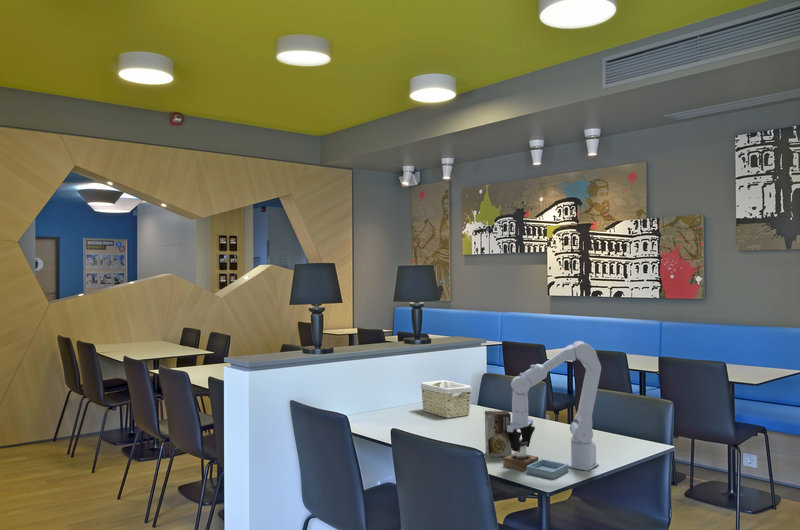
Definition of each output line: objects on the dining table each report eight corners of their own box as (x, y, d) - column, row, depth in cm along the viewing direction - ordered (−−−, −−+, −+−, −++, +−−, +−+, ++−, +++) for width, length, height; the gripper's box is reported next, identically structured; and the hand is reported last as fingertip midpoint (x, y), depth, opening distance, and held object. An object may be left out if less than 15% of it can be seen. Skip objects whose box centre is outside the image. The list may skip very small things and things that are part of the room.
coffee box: (508, 452, 241) (507, 410, 242) (511, 456, 235) (511, 413, 235) (484, 452, 241) (484, 410, 241) (487, 457, 234) (487, 414, 235)
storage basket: (419, 410, 318) (419, 381, 319) (445, 407, 326) (445, 379, 327) (446, 419, 298) (445, 388, 298) (473, 415, 306) (473, 385, 306)
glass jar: (518, 463, 227) (518, 438, 227) (530, 465, 224) (529, 440, 224) (511, 466, 223) (511, 441, 223) (523, 468, 220) (523, 443, 220)
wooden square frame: (516, 460, 230) (516, 452, 230) (538, 465, 224) (538, 456, 224) (503, 466, 223) (503, 457, 223) (525, 471, 217) (525, 462, 217)
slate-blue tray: (542, 466, 223) (542, 459, 223) (568, 471, 216) (568, 464, 216) (526, 473, 214) (526, 466, 215) (552, 479, 208) (552, 471, 208)
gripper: (520, 405, 232) (521, 442, 232) (499, 412, 221) (499, 450, 221) (537, 408, 227) (538, 445, 227) (517, 415, 216) (517, 454, 216)
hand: (520, 448), depth 223 cm, fingers open, 7 cm apart
